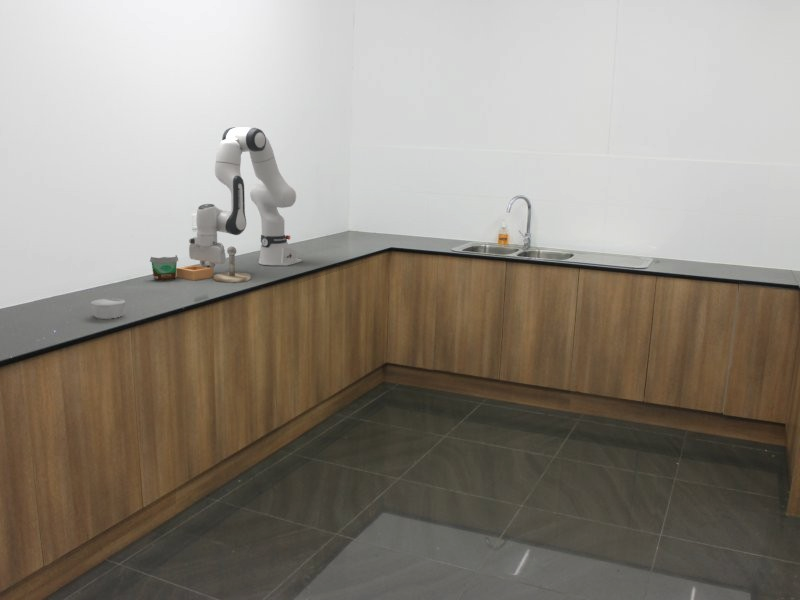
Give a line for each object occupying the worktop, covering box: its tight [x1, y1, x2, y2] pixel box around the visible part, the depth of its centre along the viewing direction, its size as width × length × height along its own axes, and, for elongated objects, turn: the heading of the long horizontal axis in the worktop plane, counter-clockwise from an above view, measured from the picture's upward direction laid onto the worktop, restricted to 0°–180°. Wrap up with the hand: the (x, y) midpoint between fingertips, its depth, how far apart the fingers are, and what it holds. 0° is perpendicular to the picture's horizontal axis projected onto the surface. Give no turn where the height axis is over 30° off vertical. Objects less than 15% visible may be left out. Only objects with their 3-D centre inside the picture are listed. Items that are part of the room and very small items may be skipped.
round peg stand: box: [213, 245, 252, 284], centre depth 342 cm, size 16×16×14 cm
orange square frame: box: [176, 264, 214, 281], centre depth 347 cm, size 15×11×4 cm
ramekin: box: [90, 298, 126, 320], centre depth 271 cm, size 11×11×5 cm
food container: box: [149, 254, 179, 282], centre depth 337 cm, size 12×6×10 cm, turn 130°
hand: (207, 271), depth 351 cm, fingers closed on orange square frame, 3 cm apart
